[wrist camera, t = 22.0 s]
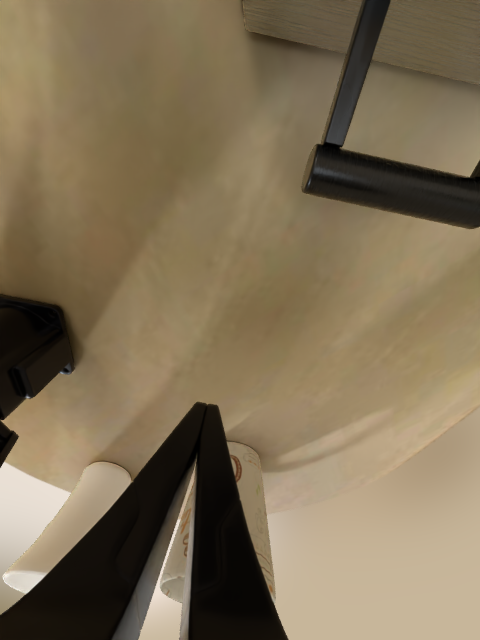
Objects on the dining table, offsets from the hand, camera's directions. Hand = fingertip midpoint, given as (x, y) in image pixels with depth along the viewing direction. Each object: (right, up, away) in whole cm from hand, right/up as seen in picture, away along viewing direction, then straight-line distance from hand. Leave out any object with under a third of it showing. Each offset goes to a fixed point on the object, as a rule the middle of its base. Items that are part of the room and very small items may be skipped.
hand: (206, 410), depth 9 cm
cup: (-14, -15, +21) cm, 29 cm away
